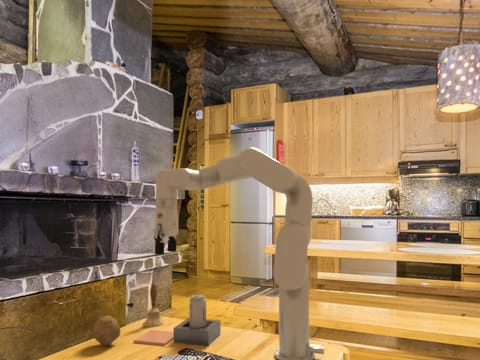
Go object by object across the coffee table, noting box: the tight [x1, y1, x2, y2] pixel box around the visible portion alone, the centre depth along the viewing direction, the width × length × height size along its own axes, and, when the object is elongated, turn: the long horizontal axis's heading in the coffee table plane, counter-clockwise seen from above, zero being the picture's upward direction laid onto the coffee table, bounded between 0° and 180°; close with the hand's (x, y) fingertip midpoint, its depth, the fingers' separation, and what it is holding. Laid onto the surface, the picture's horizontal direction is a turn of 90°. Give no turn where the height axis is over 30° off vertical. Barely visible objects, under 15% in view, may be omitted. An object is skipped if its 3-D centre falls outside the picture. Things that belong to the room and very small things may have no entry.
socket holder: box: [172, 317, 221, 347], centre depth 140 cm, size 13×13×5 cm
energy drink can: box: [188, 294, 207, 329], centre depth 140 cm, size 6×6×15 cm
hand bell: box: [142, 283, 165, 328], centre depth 158 cm, size 8×8×16 cm
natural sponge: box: [92, 315, 121, 347], centre depth 133 cm, size 9×9×10 cm
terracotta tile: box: [133, 329, 174, 346], centre depth 140 cm, size 12×12×1 cm
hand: (166, 252), depth 137 cm, fingers open, 9 cm apart
